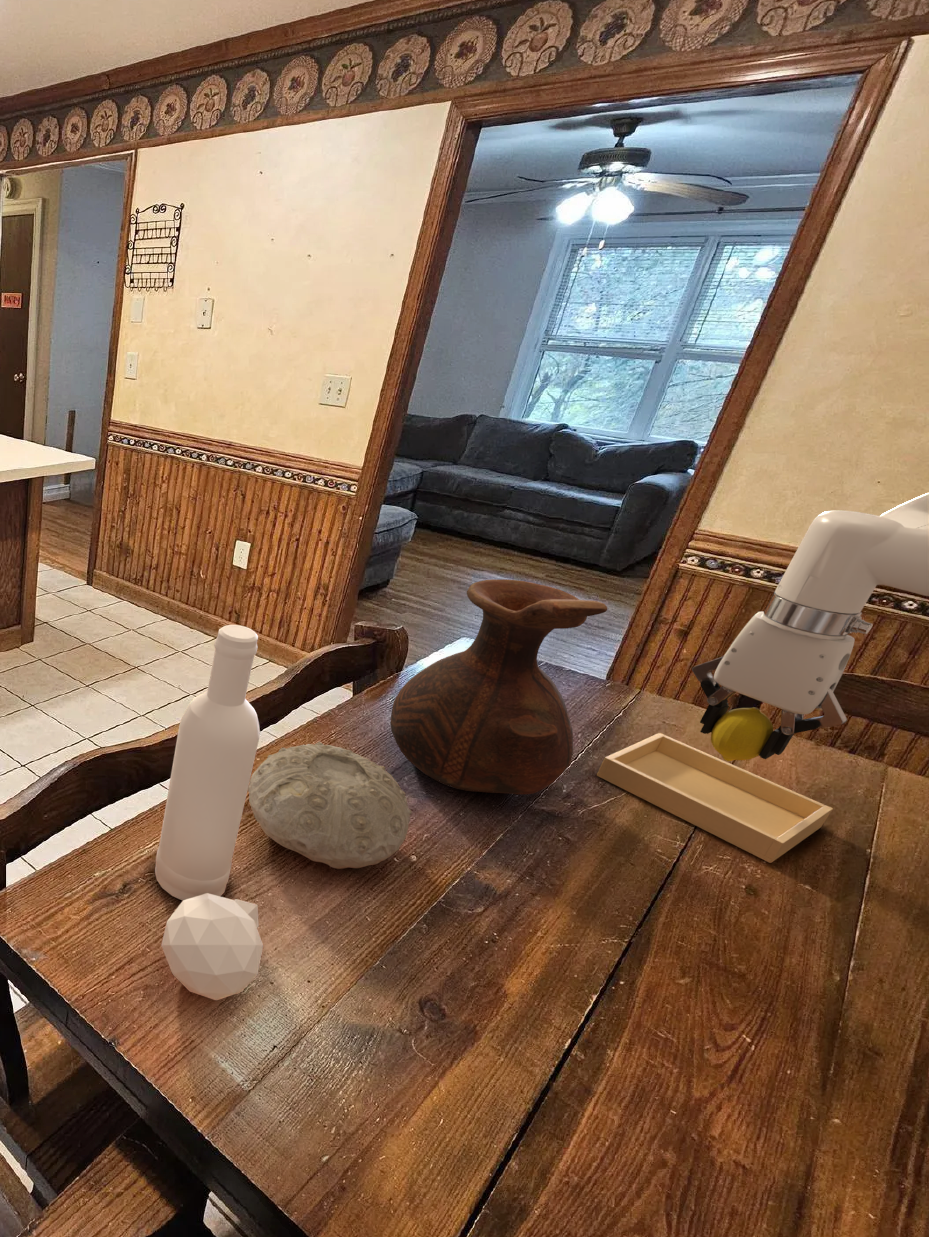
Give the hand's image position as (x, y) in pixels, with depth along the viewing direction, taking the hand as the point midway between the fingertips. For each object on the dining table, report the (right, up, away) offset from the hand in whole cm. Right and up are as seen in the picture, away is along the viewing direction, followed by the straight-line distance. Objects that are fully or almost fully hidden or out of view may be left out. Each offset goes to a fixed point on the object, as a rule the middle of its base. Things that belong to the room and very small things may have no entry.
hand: (737, 741), depth 97 cm
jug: (-32, -5, +8) cm, 33 cm away
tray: (-1, -8, +4) cm, 9 cm away
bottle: (-74, -13, -15) cm, 77 cm away
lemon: (0, -3, +1) cm, 3 cm away
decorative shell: (-57, -11, -7) cm, 59 cm away
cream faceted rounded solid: (-74, -19, -26) cm, 81 cm away
